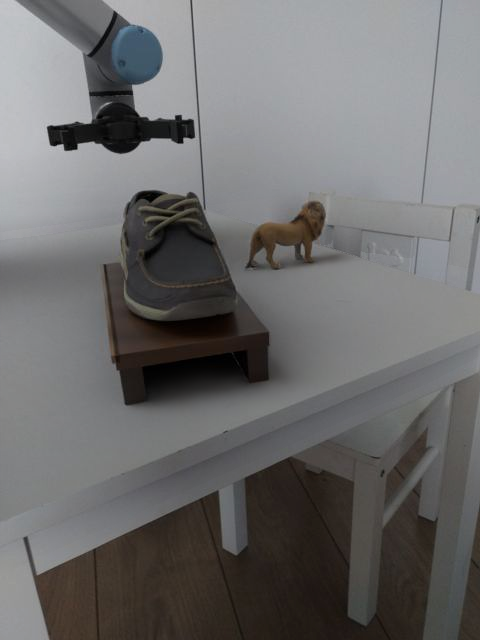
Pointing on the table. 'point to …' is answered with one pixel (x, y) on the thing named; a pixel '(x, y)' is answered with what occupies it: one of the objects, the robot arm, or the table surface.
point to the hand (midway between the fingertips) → (127, 135)
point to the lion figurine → (289, 234)
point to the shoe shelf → (178, 338)
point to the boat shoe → (172, 259)
